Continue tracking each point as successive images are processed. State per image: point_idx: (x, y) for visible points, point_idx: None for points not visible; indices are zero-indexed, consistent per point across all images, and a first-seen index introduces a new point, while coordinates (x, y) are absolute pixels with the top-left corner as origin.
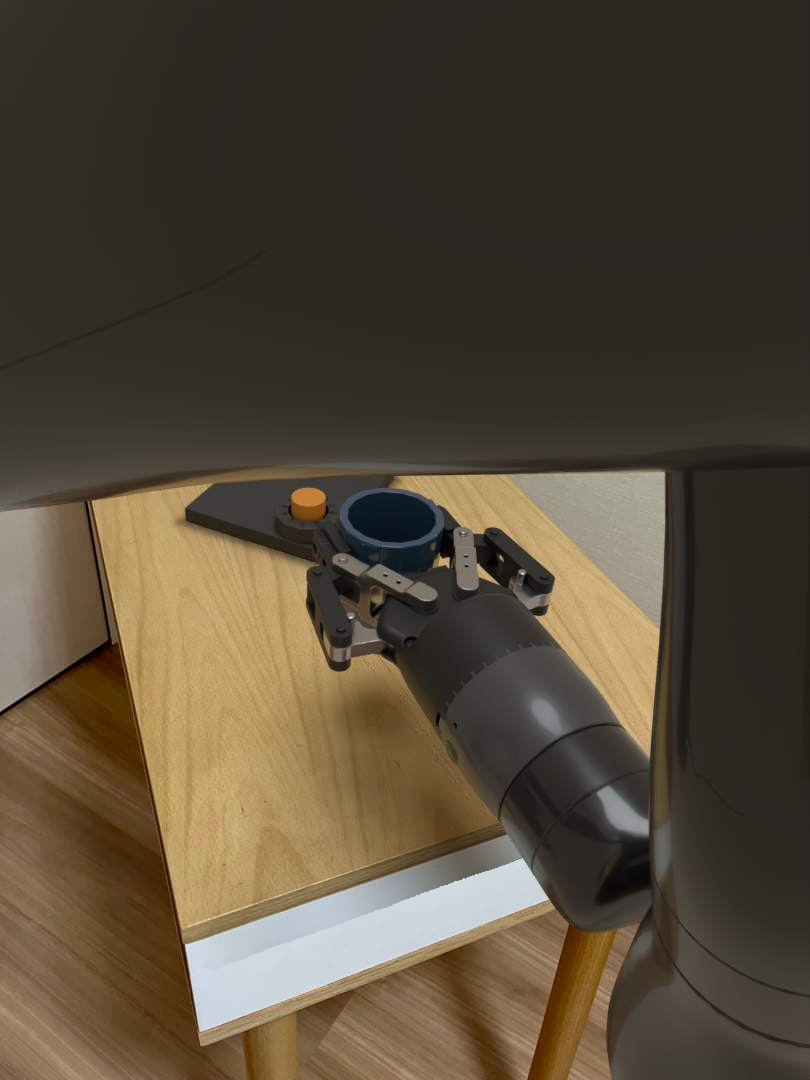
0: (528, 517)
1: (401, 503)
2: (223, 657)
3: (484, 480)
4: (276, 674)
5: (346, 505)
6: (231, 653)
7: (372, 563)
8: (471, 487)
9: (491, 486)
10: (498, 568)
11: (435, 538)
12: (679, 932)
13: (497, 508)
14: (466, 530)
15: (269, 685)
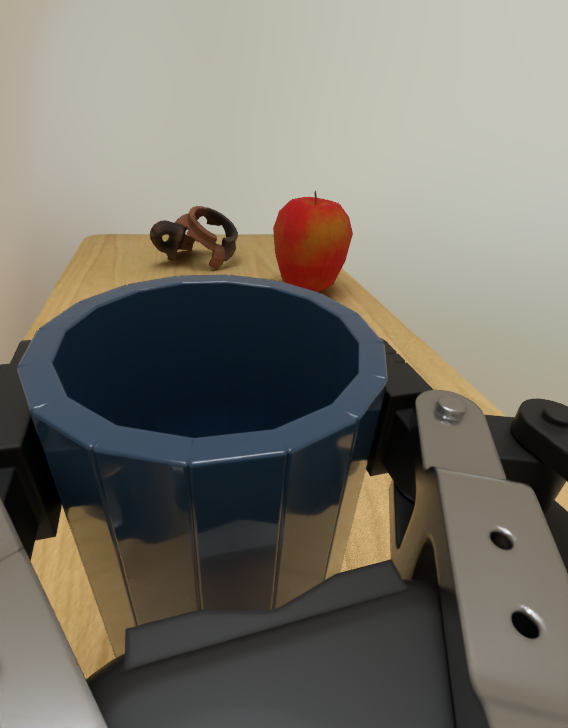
0: (462, 386)
1: (272, 317)
2: (32, 552)
3: (411, 346)
4: (91, 595)
5: (96, 299)
6: (47, 545)
7: (88, 507)
8: (398, 351)
9: (419, 352)
10: (557, 537)
11: (352, 428)
12: None
13: (426, 374)
14: (461, 403)
15: (70, 619)
